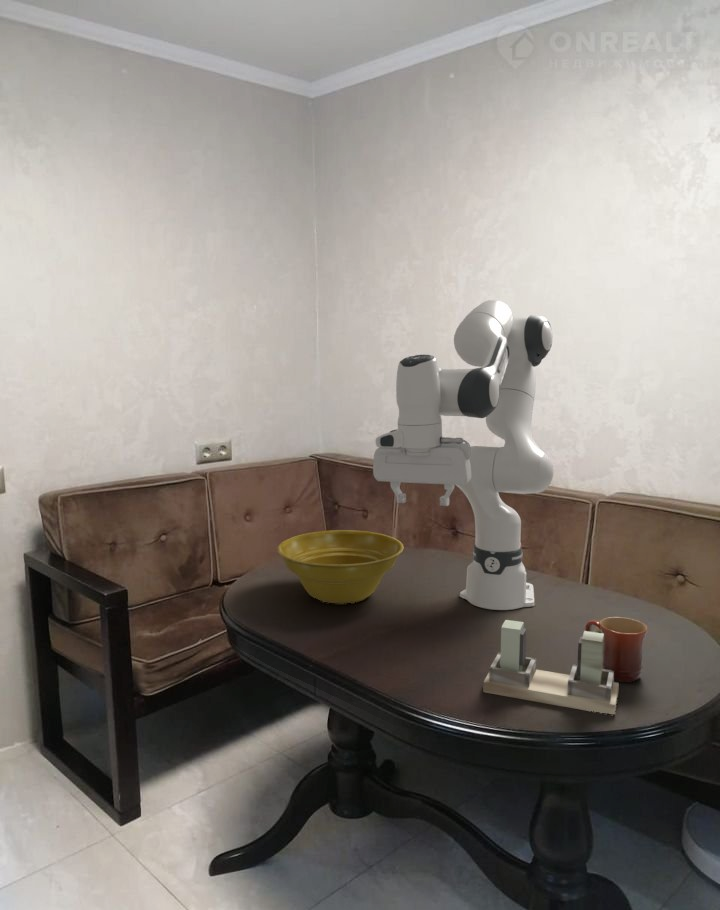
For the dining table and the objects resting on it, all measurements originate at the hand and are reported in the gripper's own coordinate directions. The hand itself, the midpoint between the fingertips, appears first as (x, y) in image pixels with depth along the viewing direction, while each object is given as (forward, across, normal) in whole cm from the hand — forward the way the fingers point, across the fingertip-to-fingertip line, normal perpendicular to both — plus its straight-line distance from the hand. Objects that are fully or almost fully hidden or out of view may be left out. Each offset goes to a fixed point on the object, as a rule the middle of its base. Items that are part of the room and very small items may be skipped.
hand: (422, 504), depth 148 cm
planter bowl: (+32, +32, -22) cm, 51 cm away
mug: (+33, -37, -5) cm, 50 cm away
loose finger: (+30, -20, +9) cm, 37 cm away
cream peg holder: (+32, -27, +9) cm, 43 cm away
